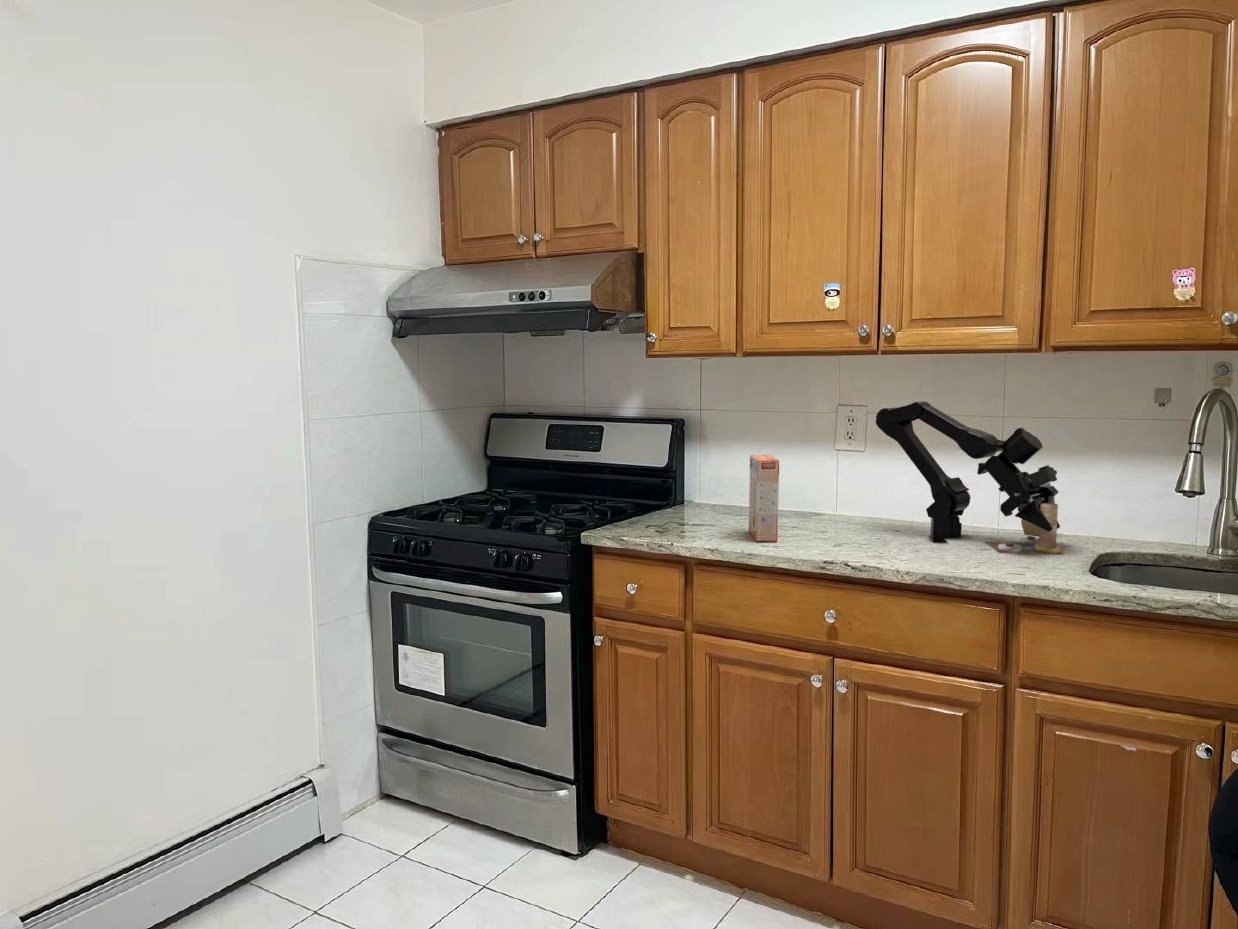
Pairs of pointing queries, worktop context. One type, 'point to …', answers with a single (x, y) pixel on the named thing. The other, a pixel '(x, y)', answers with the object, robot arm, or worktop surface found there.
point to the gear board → (1017, 546)
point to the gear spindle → (1048, 537)
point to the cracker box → (763, 498)
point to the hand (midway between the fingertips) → (1054, 529)
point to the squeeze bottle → (1029, 527)
